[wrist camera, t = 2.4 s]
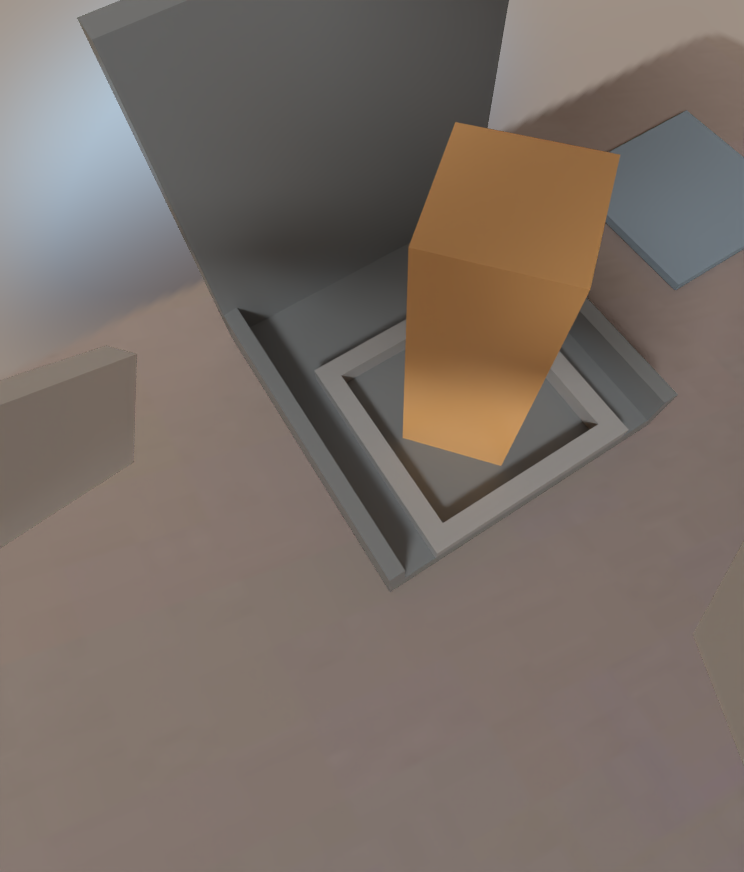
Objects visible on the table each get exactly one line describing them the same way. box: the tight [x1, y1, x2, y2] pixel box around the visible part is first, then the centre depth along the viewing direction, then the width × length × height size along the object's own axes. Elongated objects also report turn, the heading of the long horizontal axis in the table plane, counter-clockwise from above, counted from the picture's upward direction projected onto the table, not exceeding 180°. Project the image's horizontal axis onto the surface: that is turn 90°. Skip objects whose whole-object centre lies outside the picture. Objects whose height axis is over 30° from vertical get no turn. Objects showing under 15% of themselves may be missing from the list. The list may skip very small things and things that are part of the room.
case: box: [77, 0, 678, 592], centre depth 24 cm, size 18×16×18 cm
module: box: [403, 122, 620, 466], centre depth 23 cm, size 5×5×14 cm
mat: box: [605, 110, 744, 290], centre depth 36 cm, size 10×10×1 cm
